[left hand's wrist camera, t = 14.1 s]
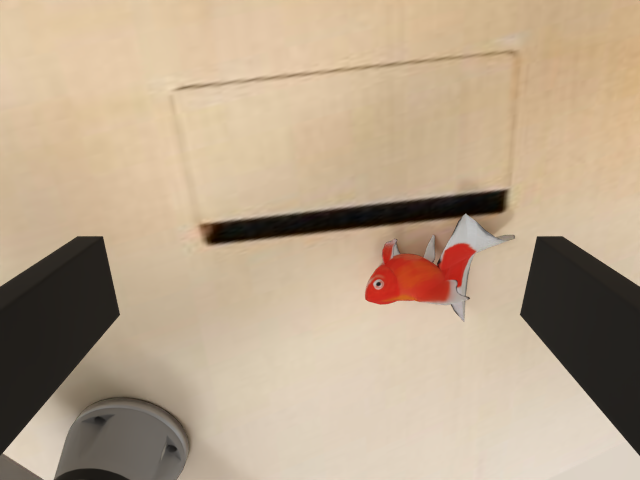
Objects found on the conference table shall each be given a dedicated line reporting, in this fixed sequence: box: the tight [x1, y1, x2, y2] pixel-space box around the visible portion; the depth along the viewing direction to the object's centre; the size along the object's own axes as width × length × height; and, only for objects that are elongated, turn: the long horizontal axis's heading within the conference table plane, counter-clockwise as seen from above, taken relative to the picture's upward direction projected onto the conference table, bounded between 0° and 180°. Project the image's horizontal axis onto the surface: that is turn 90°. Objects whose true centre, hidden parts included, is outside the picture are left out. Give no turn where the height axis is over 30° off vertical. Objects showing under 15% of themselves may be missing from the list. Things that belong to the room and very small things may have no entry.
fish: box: [365, 214, 515, 321], centre depth 40 cm, size 11×16×10 cm
